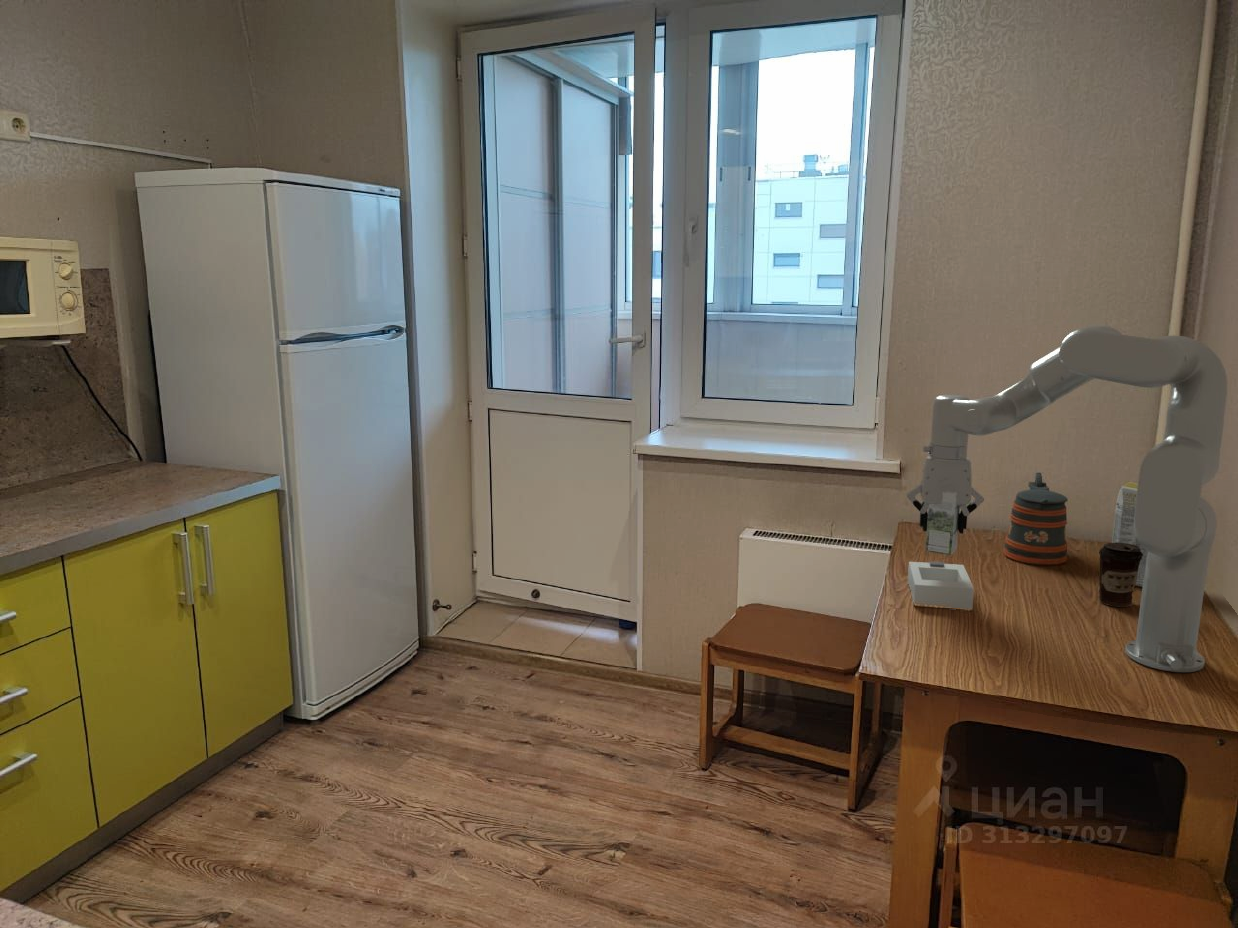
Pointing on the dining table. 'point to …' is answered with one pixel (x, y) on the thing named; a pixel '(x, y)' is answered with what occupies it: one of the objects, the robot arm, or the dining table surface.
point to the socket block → (940, 584)
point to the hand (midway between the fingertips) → (942, 530)
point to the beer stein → (1037, 526)
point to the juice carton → (1128, 524)
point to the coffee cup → (1118, 573)
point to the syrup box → (943, 525)
